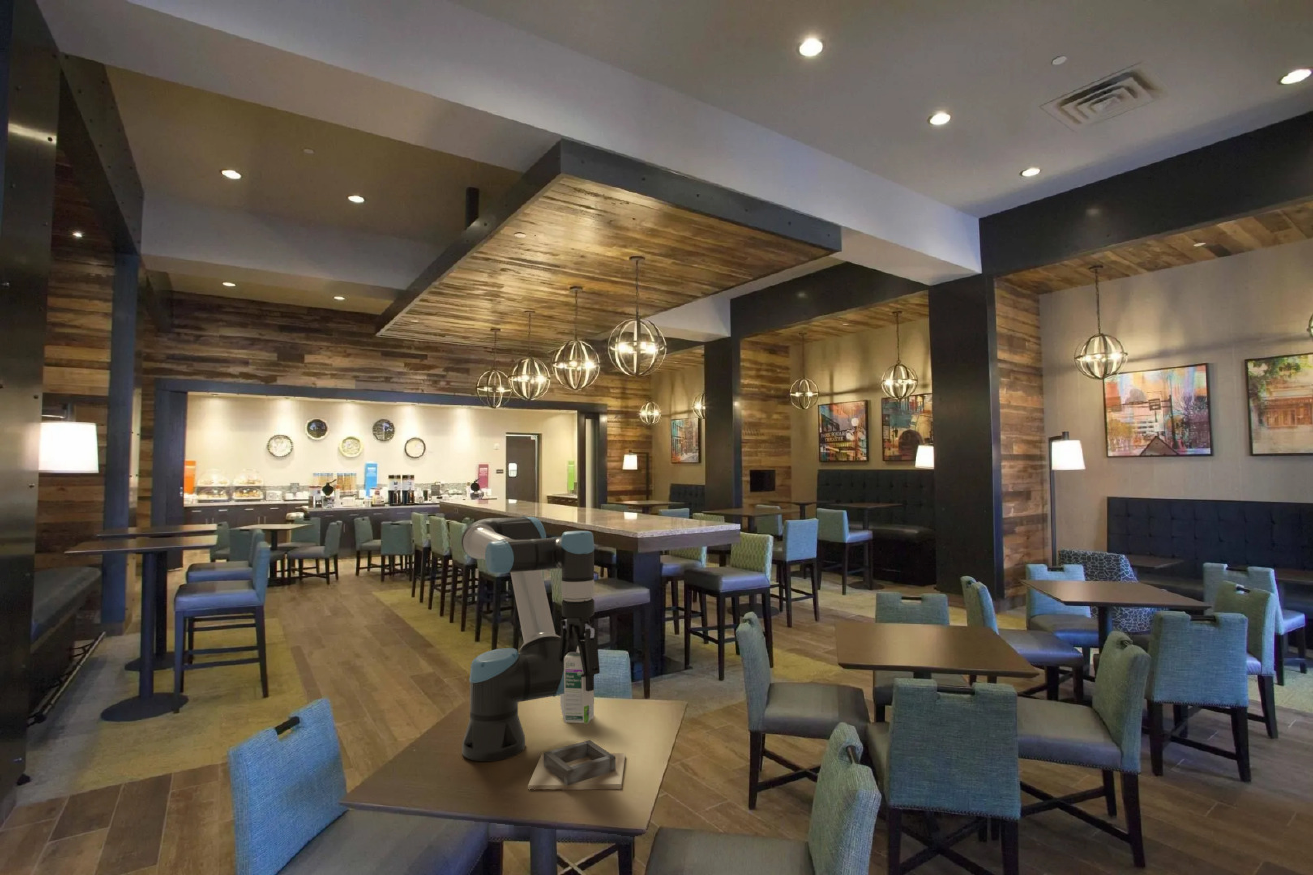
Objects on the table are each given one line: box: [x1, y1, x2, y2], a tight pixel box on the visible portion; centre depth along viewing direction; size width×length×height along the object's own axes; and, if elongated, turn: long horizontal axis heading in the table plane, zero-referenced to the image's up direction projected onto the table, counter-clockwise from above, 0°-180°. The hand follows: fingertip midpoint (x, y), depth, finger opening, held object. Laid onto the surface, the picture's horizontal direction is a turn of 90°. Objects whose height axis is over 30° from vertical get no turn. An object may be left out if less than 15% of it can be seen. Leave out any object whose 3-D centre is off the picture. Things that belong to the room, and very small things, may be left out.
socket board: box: [527, 739, 626, 791], centre depth 144 cm, size 20×17×4 cm
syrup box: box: [563, 652, 595, 724], centre depth 146 cm, size 6×6×14 cm
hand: (578, 699), depth 145 cm, fingers closed on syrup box, 8 cm apart
